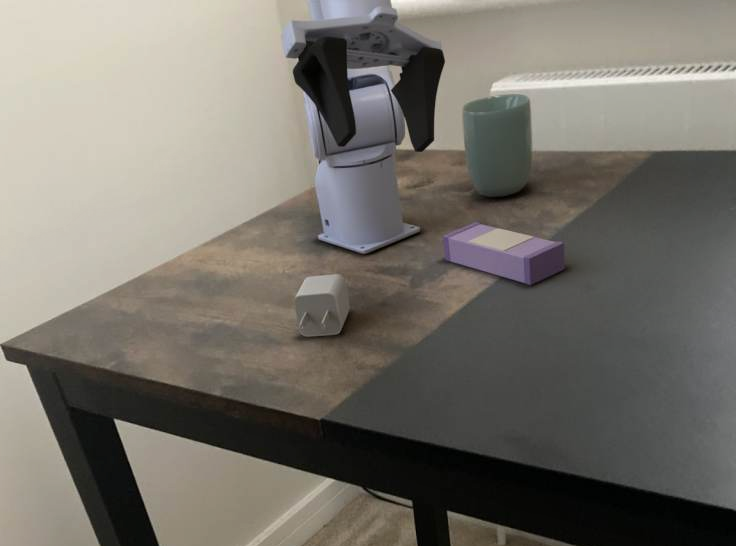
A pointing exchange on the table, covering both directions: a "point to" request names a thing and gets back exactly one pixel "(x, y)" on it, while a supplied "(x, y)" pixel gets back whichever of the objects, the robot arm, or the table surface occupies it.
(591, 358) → the table surface
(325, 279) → the usb wall charger
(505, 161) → the cup
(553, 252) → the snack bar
